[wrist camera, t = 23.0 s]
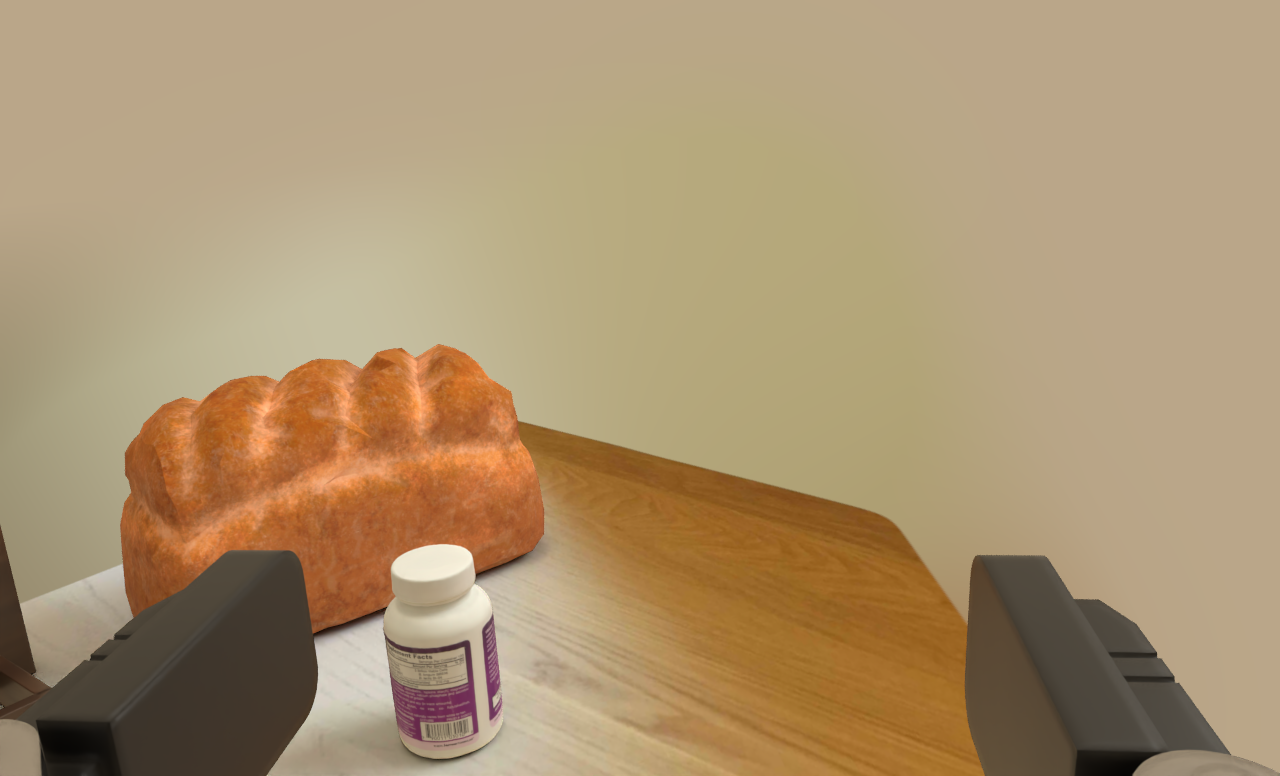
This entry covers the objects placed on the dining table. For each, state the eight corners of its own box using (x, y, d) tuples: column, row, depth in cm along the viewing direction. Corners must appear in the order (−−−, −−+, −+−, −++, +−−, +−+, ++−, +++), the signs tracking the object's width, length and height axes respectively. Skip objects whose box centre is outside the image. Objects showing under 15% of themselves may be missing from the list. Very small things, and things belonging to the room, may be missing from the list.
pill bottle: (447, 689, 55) (429, 529, 52) (524, 716, 52) (509, 548, 50) (375, 744, 51) (352, 571, 48) (455, 776, 48) (435, 595, 45)
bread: (566, 552, 71) (551, 341, 67) (175, 698, 55) (122, 434, 51) (469, 498, 82) (451, 312, 77) (117, 608, 66) (69, 383, 62)
